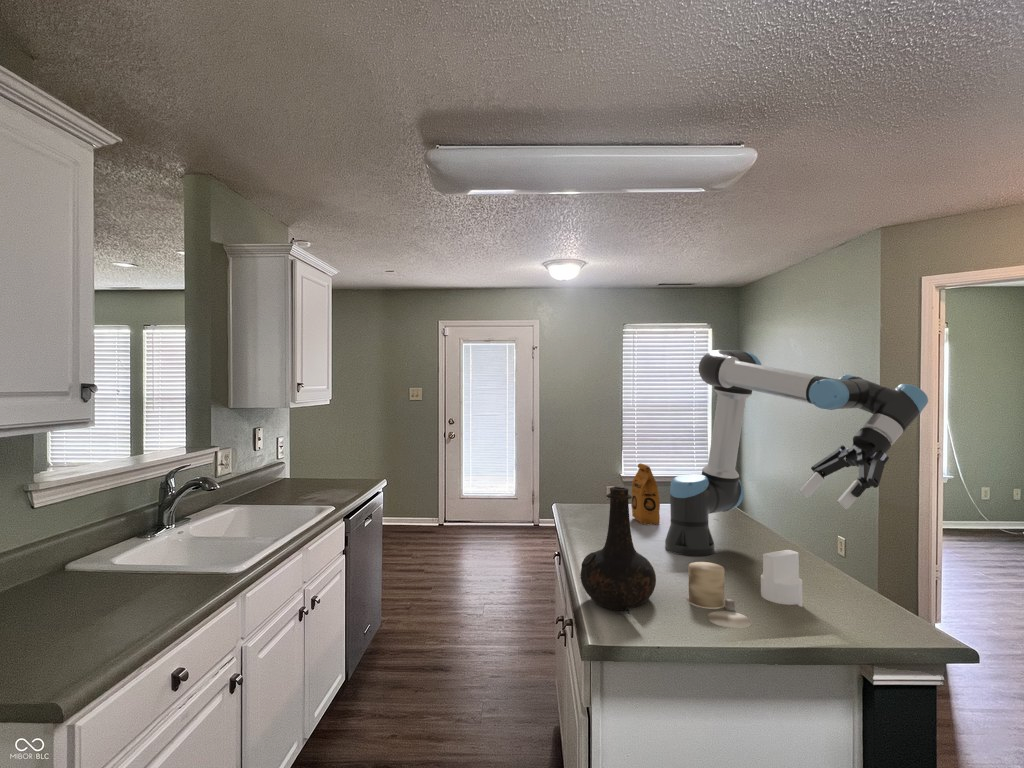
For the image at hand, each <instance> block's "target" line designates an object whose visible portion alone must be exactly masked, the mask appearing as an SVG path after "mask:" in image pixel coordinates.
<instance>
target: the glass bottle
mask: <svg viewBox="0 0 1024 768" xmlns="http://www.w3.org/2000/svg"><path fill="white" fill-rule="evenodd" d="M609 490H610V492H609V493H607V494H606V496H605V497H606V498H608V499H610V500H609V516H608V517H609V518H608V526H607V535H606V538H605V543H604V546H603V548H602V549H600V550H597V551H594V552H590V553H588V554H587V555H586V556H585V557H584V558H583V560H582V562H581V569H580V575H579V576H580V581H581V586H582V587H583V589H584V591H585V593H586V594H587V595H588V597H590V599H592V600H593V601H594V602H595V603H597V605H599V606H602V607H604V608H607V609H610V610H614V611H629V609H632V608H636V607H637V608H638V607H639V606H642V605H643V604H645V603H646V602H647V601H648V600H649V599H650V597H651V596H652V595H653V593H654V591H655V588H656V585H657V584H656V583H657V577H656V576H657V575H656V572H655V568H654V567H653V565H652V563H651V562H650V561H649V560H648V559H647V558H646V557H645V556H643V555H642V554H641V553H639V552H638V551H636V549H635V547H634V543H633V537H632V529H631V519H630V508H629V500H632V494H629V488H627V487H619V486H612V487H610V488H609Z"/></svg>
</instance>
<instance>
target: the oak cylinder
mask: <svg viewBox="0 0 1024 768" xmlns="http://www.w3.org/2000/svg"><path fill="white" fill-rule="evenodd" d="M688 596H689V601H690V602H691V603H693V604H695V605H698V606H701V607H708V608H717V607H721V606H723V605H724V604H725V600H726V597H725V567H724V566H722V565H720V564H717V563H714V562H708V561H707V562H706V561H695V562H690V563H689V564H688ZM701 607H700V608H701Z"/></svg>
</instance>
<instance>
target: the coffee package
mask: <svg viewBox="0 0 1024 768" xmlns="http://www.w3.org/2000/svg"><path fill="white" fill-rule="evenodd" d="M637 468H638V471H637V472H636V474H635V475H634V478H633V480H632V481H631V496H632V498H631V502H630V505H631V510H632V511H631V514H632V517H633V518H634V519H635V520H637V521H638V522H639V523H640V524H641V525H648V524H649V525H660V524H659V523H660V521H661V520H660V519H661V517H660V507H661V503H660V494H659V489H658V485H657V481H656V479H655V477H654V474H653V471H652V469H651V467H650V466H649V465H647V464H644V463H642V462H641V463H638V464H637Z"/></svg>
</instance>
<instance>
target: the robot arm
mask: <svg viewBox="0 0 1024 768" xmlns="http://www.w3.org/2000/svg"><path fill="white" fill-rule="evenodd" d="M698 374H699V376H700V378H701V380H702V381H703V382H704V383H705V384H706V385H707V384H708V385H710V386H713V390H714V392H715V393H716V395H717V399H716V407H715V413H714V420H713V426H712V434H711V435H712V436H711V441H710V449H709V457H708V461H707V464H706V465H705V466H704V467H703V468H702V471H701V474H699V473H697V474H696V473H690V474H681V475H677V476H675V477H674V478H672V479H671V482H670V488H669V495H670V498H669V499H670V500H669V501H670V503H669V505H670V526H669V529H668V530H667V531H668V532H667V534H666V537H665V542H664V543H665V544H664V547H665V549H666V550H667V551H669V552H671V553H674V554H678V555H684V556H693V557H694V556H695V557H700V556H709V555H712V554H714V553H715V547H716V546H715V542H714V539H713V536H712V533H711V530H710V527H709V515H710V514H716V513H722V512H724V513H725V512H728V511H731V510H734V509H736V508H738V506H740V504H741V503H742V501H743V499H744V493H745V492H744V491H745V489H744V486H743V485H742V482H741V480H740V479H739V478H740V474H739V473H738V471H737V470H736V467H737V459H738V453H739V444H740V442H741V441H740V440H741V435H742V434H741V433H742V425H743V420H744V415H745V408H746V402H747V401H746V400H747V399H748V398H749V397H750V396H752V395H753V394H752V393H753V392H759V393H763V394H767V395H772V396H775V397H780V398H785V399H788V400H792V401H798V402H802V403H806V404H811V405H814V406H815V407H817V408H819V409H822V410H828V411H829V410H830V411H834V410H840V409H841V410H842V409H859V410H862V411H865V412H867V413H871V414H872V415H871V416H870V417H869V418H868V420H867V421H865V422H864V423H863V425H862V427H861V428H860V429H859V430H858V431H857V432H856V434H855V435H853V437H852V445H850V447H846V446H845V445H844V444H841V445H839V446H838V447H837V449H835V450H834V451H832V452H831V453H830V454H828V455H827V456H825V457H824V458H822V459H821V460H819V461H817V462H816V463H815V464H813V465H812V466H811V467H810V469H811V471H812V472H813V474H811V476H810V477H809V478H808V480H807V481H806V482H805V483H804V485H802V486H801V487H800V489H799V492H800V493H801V494H802V495H803V496H804V497H805V498H806V499H809V498H810V497H811V496H812V495H813V493H814V492H815V491H816V490H817V489H818V488H819V487H820V485H821V484H822V483H823V482H824V481H825V477H827V476H829V475H831V474H833V473H835V472H837V471H839V470H841V469H844V468H850V467H857V468H858V477H856V480H853V482H852V483H851V484H850V485H849V487H847V488H846V490H845V491H844V492H843V493H842V494H841V495H840V496H839V498H838V499H837V501H836V502H838V503H839V504H840V505H841V506H842V507H843V508H844V509H845V510H848V509H849V508H850V507H852V504H853V503H854V502H855V501H856V500H857V499H858V498H859V497H860V496H861V495H862V494H863V493H864V492H865V490H867V489H869V488H871V487H873V488H874V489H876V488H878V487H879V485H880V483H881V479H882V477H883V475H882V474H883V472H884V469H885V465H886V464H887V462H888V461H889V458H890V457H889V456H888V455H887V454H886V453H887V452H888V451H889V450H890V449H891V447H892V445H894V444H895V442H896V441H897V440H898V439H899V438H900V437H901V435H902V434H904V432H905V431H906V430H907V429H908V427H909V426H910V425H911V424H912V423H913V422H914V421H915V420H916V419H917V418H918V417H919V416H920V415H921V413H922V412H923V410H924V409H925V408H926V406H927V405H928V403H929V398H928V396H927V394H926V393H925V391H923V390H922V389H921V388H919V387H918V386H916V385H914V384H910V383H900V384H899V385H898V386H897V387H895V388H894V389H893V388H890V387H887V386H883V385H881V384H877V383H875V382H873V381H869V380H867V379H864V378H862V377H860V376H854V375H852V374H843V375H842V376H841V377H839V378H831V377H827V376H826V377H825V376H820V375H814V374H810V373H805V372H799V371H793V370H789V369H784V368H783V369H782V368H778V367H772V366H767V365H762V362H761V361H760V359H759V358H758V357H757V356H756V355H755V354H754V353H752V352H748V351H745V350H733V349H731V350H729V349H727V350H724V349H716V350H715V349H714V350H711V351H708V352H707V353H706V354H704V355H703V356H702V357H701V359H700V360H699V363H698Z"/></svg>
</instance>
